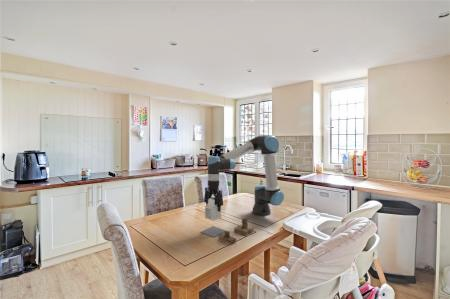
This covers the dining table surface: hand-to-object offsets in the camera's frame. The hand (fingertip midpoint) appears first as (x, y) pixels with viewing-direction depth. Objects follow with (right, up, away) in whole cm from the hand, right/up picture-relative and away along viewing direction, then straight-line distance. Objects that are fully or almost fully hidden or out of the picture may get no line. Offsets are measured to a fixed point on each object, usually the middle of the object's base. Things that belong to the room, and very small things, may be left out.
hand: (213, 214), depth 140 cm
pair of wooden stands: (+15, -12, -5) cm, 20 cm away
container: (0, -2, 0) cm, 2 cm away
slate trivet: (0, -12, 0) cm, 12 cm away
